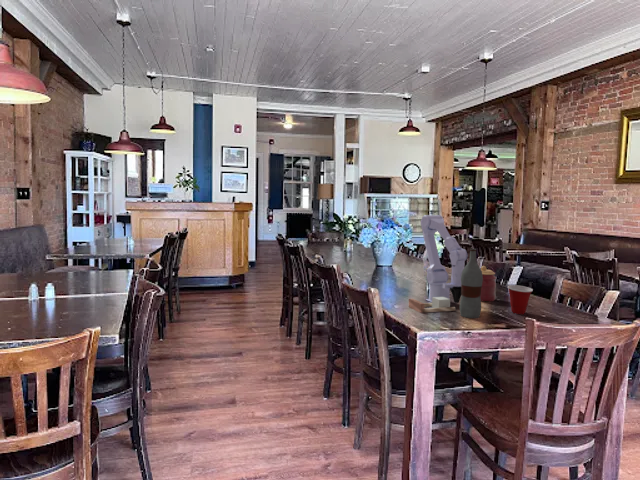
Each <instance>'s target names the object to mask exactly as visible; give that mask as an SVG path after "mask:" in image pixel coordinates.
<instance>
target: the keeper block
mask: <svg viewBox="0 0 640 480" xmlns="http://www.w3.org/2000/svg"><path fill="white" fill-rule="evenodd" d="M431 303H432V306H431V308H443V307H451V299H450V298H449V299H448V298H445V297H432V302H431Z"/></svg>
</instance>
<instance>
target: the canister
mask: <svg viewBox="0 0 640 480" xmlns="http://www.w3.org/2000/svg"><path fill="white" fill-rule="evenodd" d="M480 269H481V271H482V276H483V282H482V288H481V296H480V297H481V302H485V301H489V302H495V300H496V291H497V290H496V289H497V283H496V280H497V276H496V273H495V272H494V271H493V270H491V269H487V266H485V265H482V266H481V268H480Z"/></svg>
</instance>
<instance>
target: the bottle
mask: <svg viewBox="0 0 640 480" xmlns="http://www.w3.org/2000/svg"><path fill="white" fill-rule="evenodd" d="M482 282H483V276H482V271H481V268H480V266H479V264H478V262H477V248H469V261H468V262H467V263H466V265H464V269H463V271H462V275H461V294H462V295H461V297H460V300H459V313H460V314H459V315H460V316H461V317H463V318H466V319H467V318H468V319H479V318H480V316H481V313H482V301H481V297H480V296H481V288H482Z"/></svg>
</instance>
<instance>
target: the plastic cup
mask: <svg viewBox="0 0 640 480" xmlns="http://www.w3.org/2000/svg"><path fill="white" fill-rule="evenodd" d="M507 289H508V293H509V295H508V296H509V303H510V304H509V305H510V311H511V313H512V312H513V313H512V314H515V313H516V315H525V314H526V311H527V307H528V304H529V300H530V296H531V294H532V292H533V290H534V289H533V288H531V287H529V286H528V287H527V286H524V285H517V284H513V285H512V284H511V285H507ZM524 313H525V314H524Z"/></svg>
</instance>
